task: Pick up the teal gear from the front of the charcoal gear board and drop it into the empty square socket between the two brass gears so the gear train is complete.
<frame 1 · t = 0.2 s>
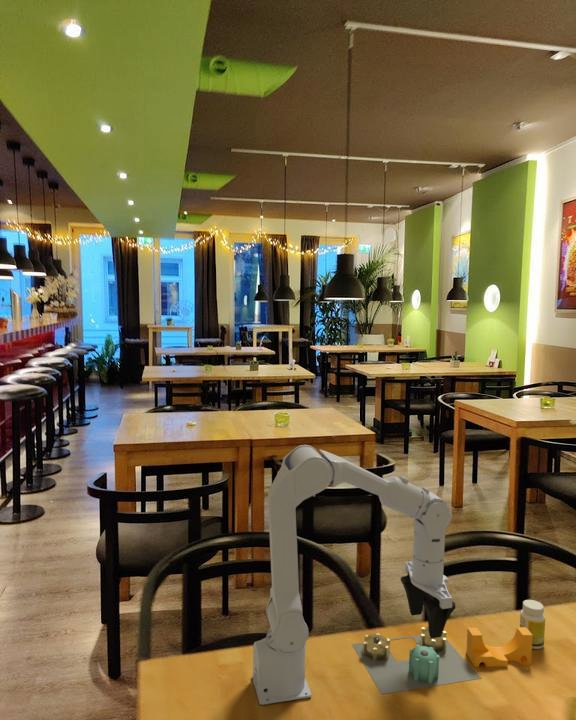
hand: (425, 624, 103), 9 cm above the table, tool pointing down, fingers open, 7 cm apart
teal gear: (423, 673, 101), point 1 cm above the table, touching gear board
supplement bottle: (531, 643, 113), on the table
gear board: (413, 665, 105), on the table
pipe clamp: (499, 666, 106), on the table
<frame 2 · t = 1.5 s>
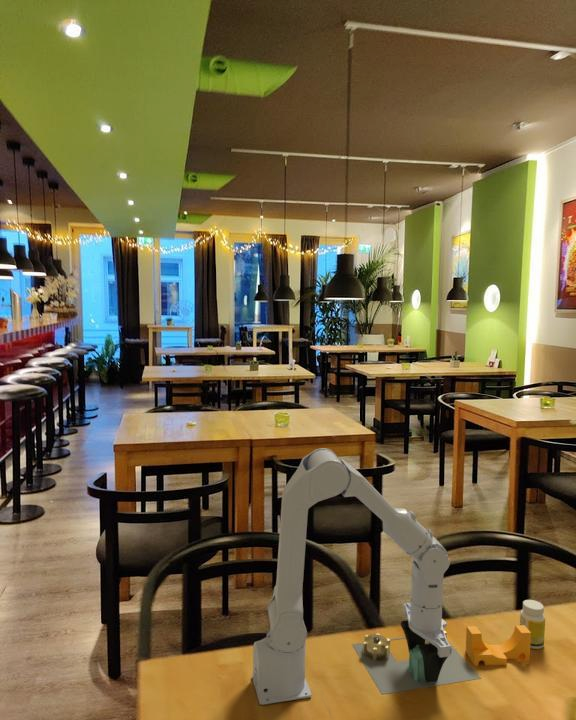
hand: (423, 670, 101), 2 cm above the table, tool pointing down, fingers closed on teal gear, 5 cm apart
teal gear: (423, 673, 101), point 1 cm above the table, touching gear board, gripper
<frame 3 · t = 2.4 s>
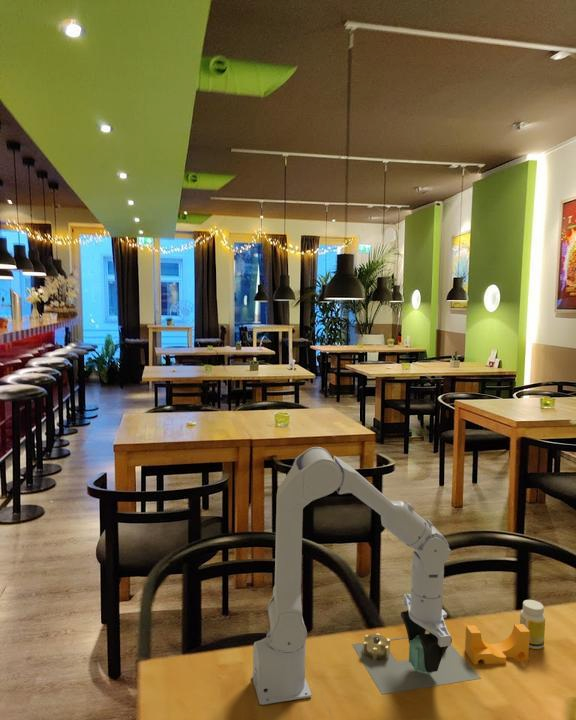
hand: (423, 660, 101), 4 cm above the table, tool pointing down, fingers closed on teal gear, 5 cm apart
teal gear: (423, 664, 101), point 3 cm above the table, touching gripper
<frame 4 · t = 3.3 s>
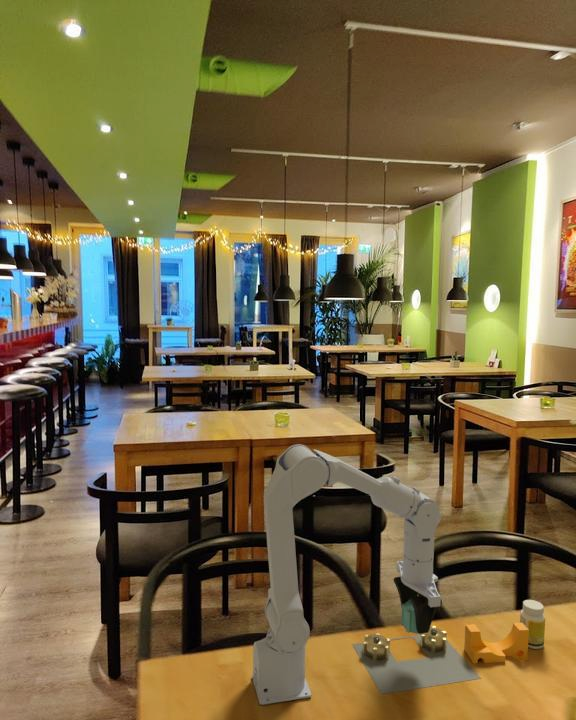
hand: (415, 623, 104), 9 cm above the table, tool pointing down, fingers closed on teal gear, 5 cm apart
teal gear: (415, 626, 104), point 8 cm above the table, touching gripper
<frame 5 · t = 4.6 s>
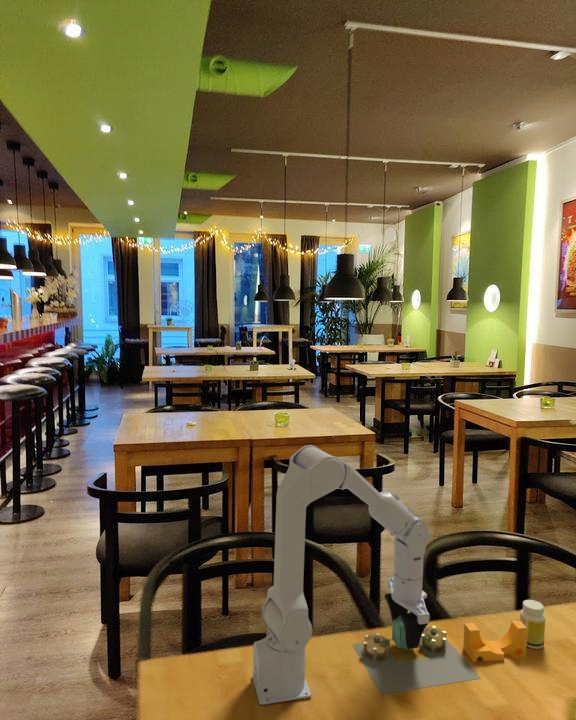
hand: (405, 638, 108), 3 cm above the table, tool pointing down, fingers closed on teal gear, 5 cm apart
teal gear: (405, 641, 108), point 3 cm above the table, touching gripper
when the fingers open (3 cm above the table, at t = 5.3 s): teal gear drops 2 cm, resting in gear board.
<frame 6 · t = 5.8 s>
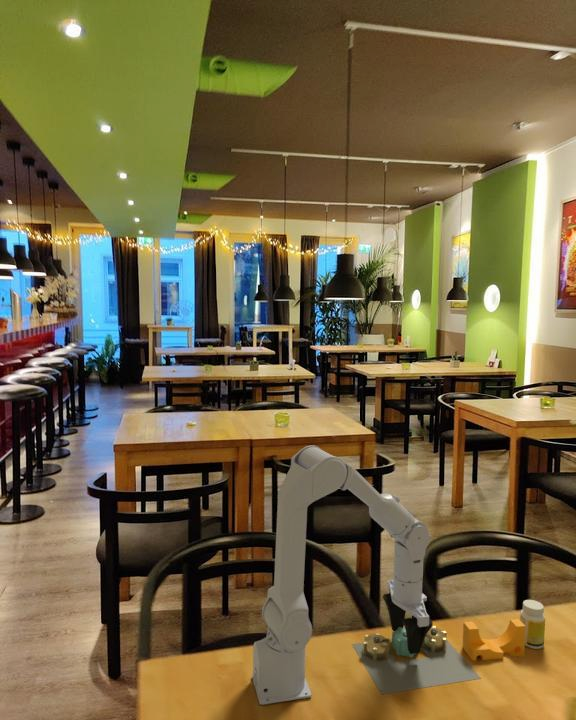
hand: (405, 640, 108), 3 cm above the table, tool pointing down, fingers open, 7 cm apart
teal gear: (405, 653, 109), resting in gear board
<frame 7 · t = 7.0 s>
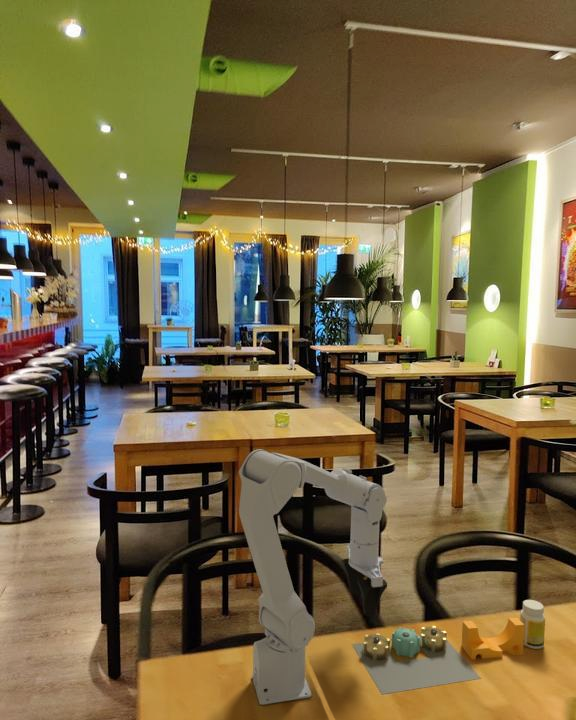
hand: (362, 603, 110), 9 cm above the table, tool pointing down, fingers open, 7 cm apart
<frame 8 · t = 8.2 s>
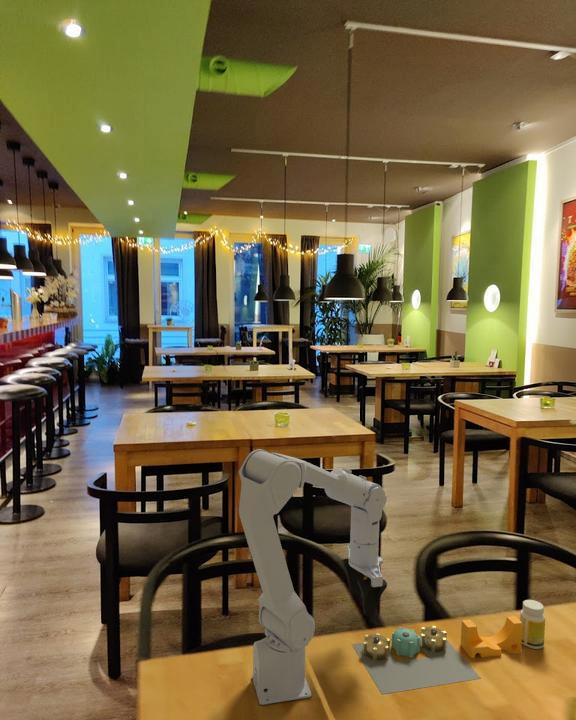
hand: (362, 603, 110), 9 cm above the table, tool pointing down, fingers open, 7 cm apart
at the end: teal gear 0.0 cm from the target spot, resting in gear board; teal gear tilted 0°; the gripper is holding nothing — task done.
